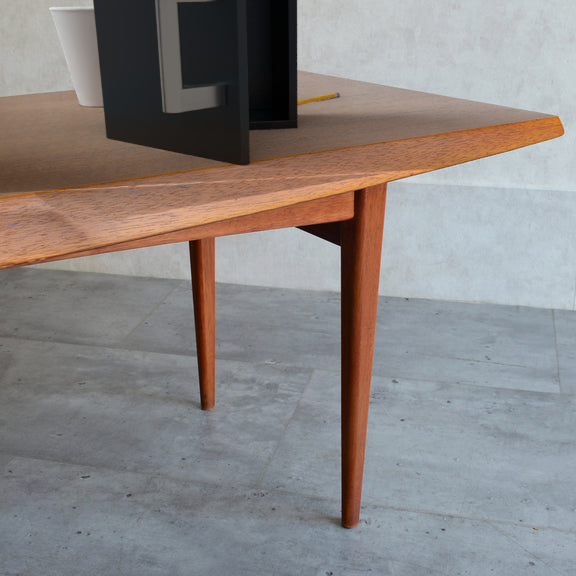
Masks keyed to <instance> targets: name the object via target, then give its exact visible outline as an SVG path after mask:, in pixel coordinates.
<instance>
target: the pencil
mask: <svg viewBox="0 0 576 576" xmlns="http://www.w3.org/2000/svg"><path fill="white" fill-rule="evenodd" d="M336 96H339V97H341V95H340V93H339V92H333V93H327V94H323V95H318V96H315V97H314V96H313V97H309V98H305V99H304V98H303V99H300V100H297V106H300V105H304V104H308V103H313V102H320V101H319V100H322V101H325V100H324V99H327V100H329V99H328V98H331V99H333V98H332V97H336ZM336 98H337V97H336Z"/></svg>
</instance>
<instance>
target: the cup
mask: <svg viewBox="0 0 576 576" xmlns="http://www.w3.org/2000/svg"><path fill="white" fill-rule="evenodd" d="M48 10H49V11H50V14H51V18H52V21H53V25H54V28H55V30H56V33H57V36H58V40H59V44H60V46H61V50H62V52H63V55H64V56H63V57H64V58H65V62H66V66H67V68H68V71H69V75H70V78H71V80H72V84H73V87H74V90H75V93H76V96H77V101H78V104H79V105H80V106H83V107H89V108H104V106H103V96H102V86H101V76H100V65H99V55H98V45H97V35H96V25H95V15H94V5H90V6H89V5H87V6H85V5H82V6H81V5H80V6H51V7H49V8H48Z"/></svg>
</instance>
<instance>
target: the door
mask: <svg viewBox="0 0 576 576" xmlns="http://www.w3.org/2000/svg"><path fill="white" fill-rule="evenodd" d="M92 2H93V4H92V5H93V6H94V15H95V25H96V35H97V45H98V55H99V65H100V76H101V86H102V96H103V106H104V107H103V115H104V125H105V127H104V128H105V134H106V135H105V137H106V138H107V139H111V140H114V141H115V140H117V141H121V142H126V143H131V144H136V145H141V146H146V147H151V148H156V149H161V150H165V151H171V152H176V153H179V154H180V153H181V154H186V155H190V156H196V157H200V158H205V159H210V160H214V161H220V162H225V163H230V164H235V165H240V166H244V165H249V164H251V160H250V159H251V154H250V153H251V152H250V151H251V150H250V147H251V146H250V130H249V110H248V72H247V34H246V0H92Z"/></svg>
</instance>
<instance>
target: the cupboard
mask: <svg viewBox="0 0 576 576" xmlns="http://www.w3.org/2000/svg"><path fill="white" fill-rule="evenodd" d="M246 34H247V72H248V110H249V131H268V130H269V131H270V130H293V129H294V130H295V129H298V127H299V126H298V125H299V124H298V122H299V121H298V117H299V115H298V105H297V101H298V0H246Z"/></svg>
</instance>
